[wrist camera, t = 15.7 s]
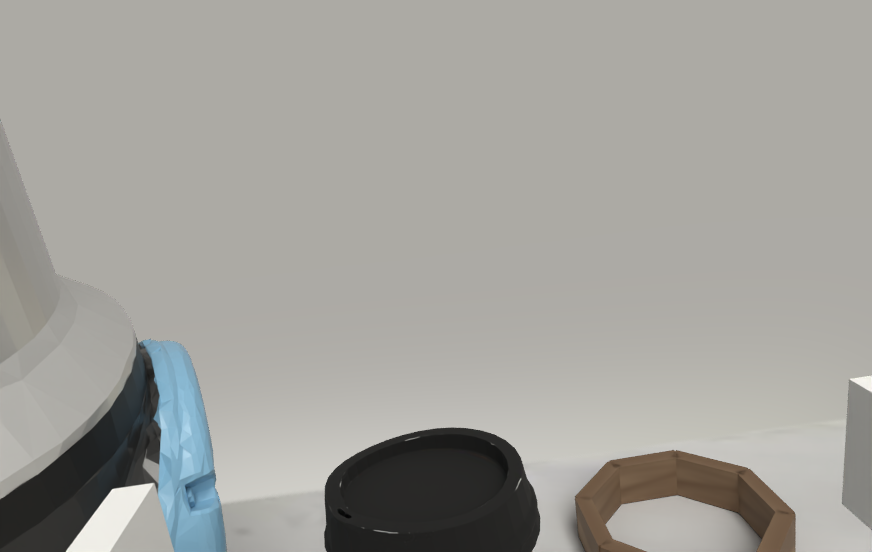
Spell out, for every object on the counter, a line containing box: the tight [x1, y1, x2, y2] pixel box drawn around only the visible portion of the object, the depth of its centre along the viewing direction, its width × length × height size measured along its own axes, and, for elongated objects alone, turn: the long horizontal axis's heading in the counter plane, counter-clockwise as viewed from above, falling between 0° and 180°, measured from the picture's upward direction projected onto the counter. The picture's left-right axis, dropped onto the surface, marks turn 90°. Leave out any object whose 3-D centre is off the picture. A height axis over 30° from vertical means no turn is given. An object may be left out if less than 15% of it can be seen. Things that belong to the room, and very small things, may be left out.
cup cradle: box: [575, 450, 795, 552], centre depth 39 cm, size 12×12×3 cm
